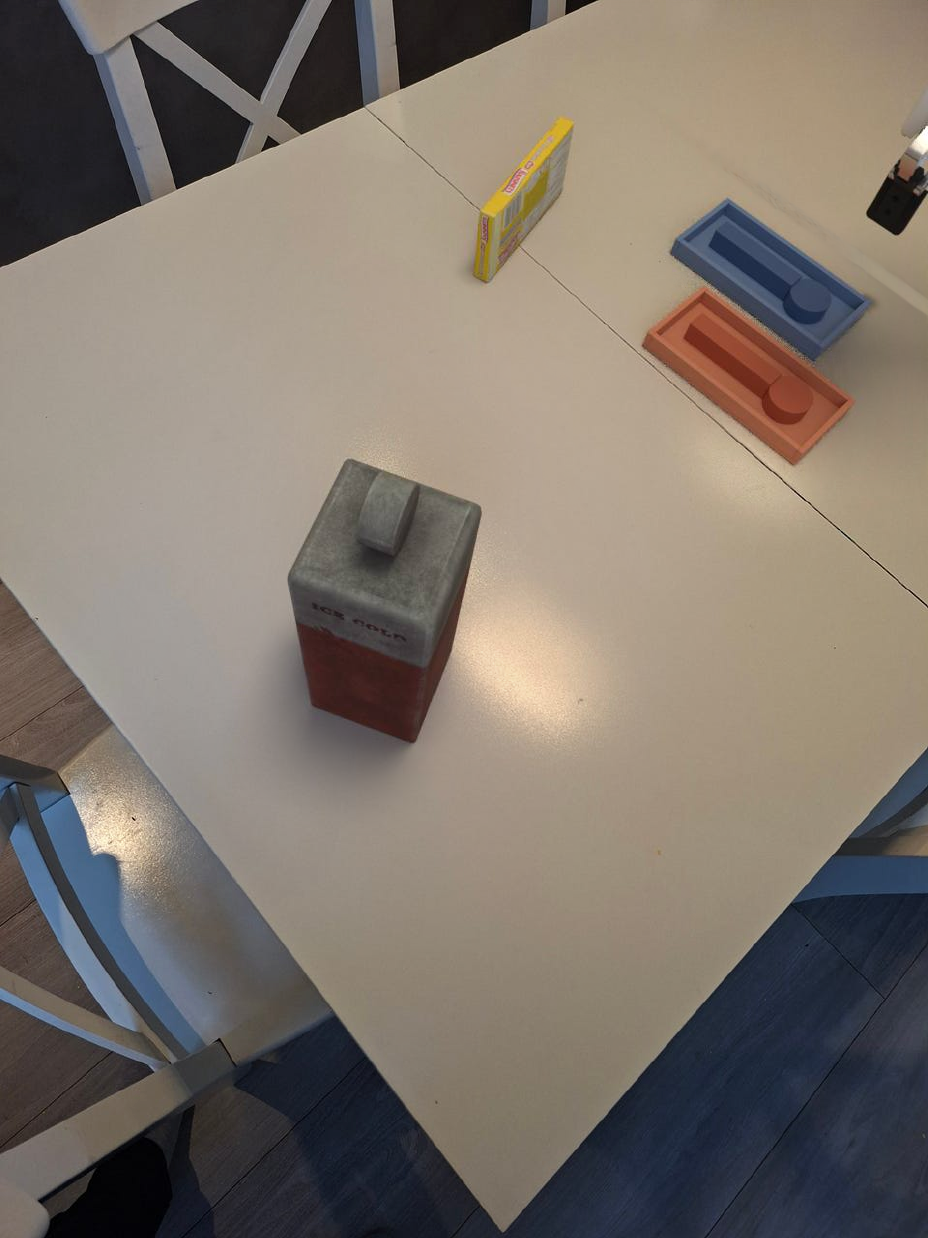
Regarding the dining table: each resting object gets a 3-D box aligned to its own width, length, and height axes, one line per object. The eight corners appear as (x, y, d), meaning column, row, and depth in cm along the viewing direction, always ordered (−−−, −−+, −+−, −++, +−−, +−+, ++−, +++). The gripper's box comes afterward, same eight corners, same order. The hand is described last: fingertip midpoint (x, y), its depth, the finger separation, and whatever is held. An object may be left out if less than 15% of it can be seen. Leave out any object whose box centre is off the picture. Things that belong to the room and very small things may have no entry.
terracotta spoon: (675, 344, 89) (682, 329, 87) (702, 321, 91) (709, 306, 89) (788, 432, 86) (798, 418, 84) (813, 407, 87) (824, 393, 85)
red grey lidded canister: (327, 601, 75) (305, 388, 49) (452, 647, 74) (495, 455, 49) (283, 695, 71) (233, 517, 46) (414, 744, 71) (438, 592, 45)
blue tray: (862, 315, 94) (872, 301, 92) (813, 361, 91) (822, 348, 89) (721, 212, 98) (727, 197, 96) (669, 252, 95) (675, 237, 93)
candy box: (545, 183, 97) (560, 113, 90) (562, 192, 97) (578, 122, 89) (470, 274, 91) (478, 207, 83) (488, 284, 91) (498, 217, 83)
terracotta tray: (846, 412, 88) (856, 400, 86) (793, 465, 85) (803, 453, 83) (697, 299, 92) (703, 284, 91) (641, 345, 89) (647, 331, 87)
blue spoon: (701, 251, 95) (708, 235, 93) (726, 231, 96) (733, 215, 94) (808, 330, 91) (818, 315, 89) (832, 309, 93) (842, 293, 91)
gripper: (1071, -111, 60) (932, 121, 76) (938, -7, 54) (817, 221, 70) (1172, -58, 58) (1008, 169, 74) (1045, 56, 52) (896, 275, 68)
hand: (915, 194), depth 72 cm, fingers open, 9 cm apart
